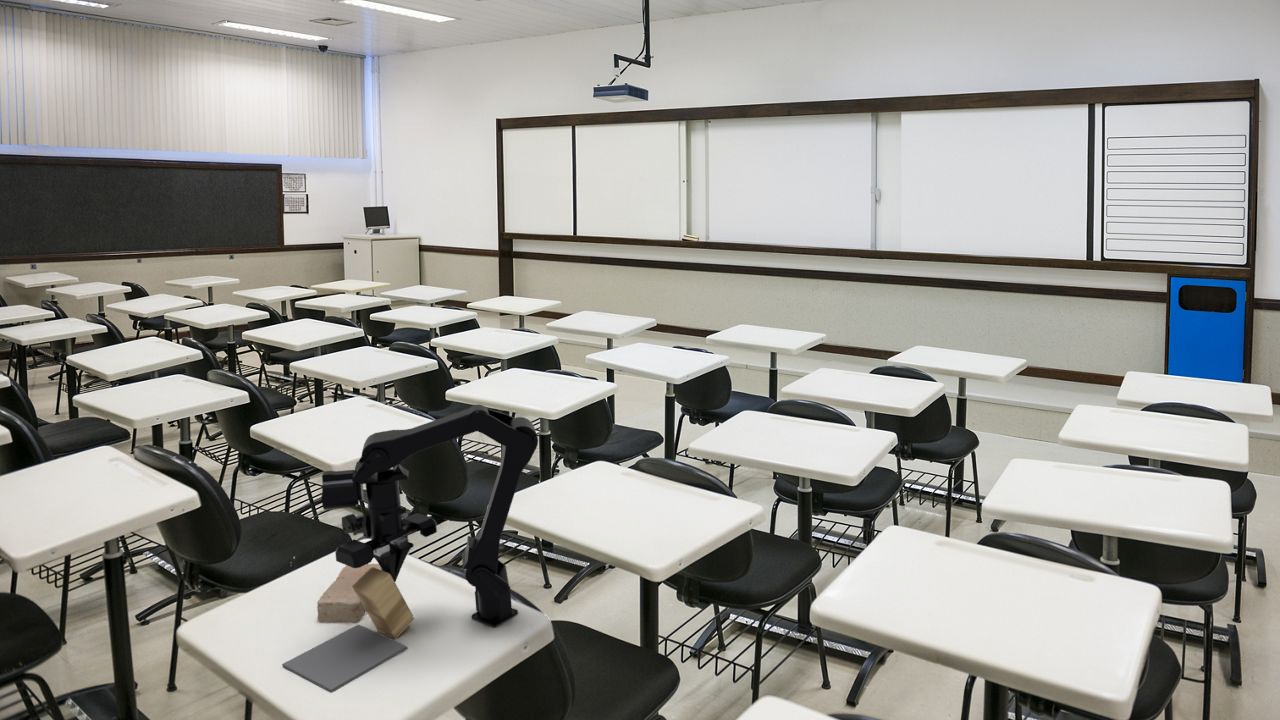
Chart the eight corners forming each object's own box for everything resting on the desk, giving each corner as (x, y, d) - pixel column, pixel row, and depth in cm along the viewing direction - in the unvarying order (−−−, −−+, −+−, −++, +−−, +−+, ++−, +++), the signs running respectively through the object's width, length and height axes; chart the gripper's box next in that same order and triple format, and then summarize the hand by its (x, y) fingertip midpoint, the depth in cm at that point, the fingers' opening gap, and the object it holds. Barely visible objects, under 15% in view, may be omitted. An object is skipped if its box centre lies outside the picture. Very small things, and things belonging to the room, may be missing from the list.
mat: (407, 648, 163) (407, 646, 163) (331, 692, 151) (331, 689, 151) (358, 626, 171) (358, 624, 171) (282, 666, 159) (282, 664, 159)
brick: (359, 624, 173) (356, 601, 172) (316, 624, 174) (313, 601, 173) (387, 583, 189) (385, 562, 188) (348, 583, 190) (345, 562, 189)
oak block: (415, 618, 170) (390, 572, 164) (395, 639, 167) (369, 593, 161) (397, 611, 173) (372, 566, 167) (378, 631, 170) (351, 586, 164)
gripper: (396, 478, 176) (403, 553, 180) (312, 510, 162) (322, 590, 165) (435, 490, 170) (441, 567, 173) (351, 524, 155) (360, 607, 159)
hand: (392, 582), depth 168 cm, fingers closed
